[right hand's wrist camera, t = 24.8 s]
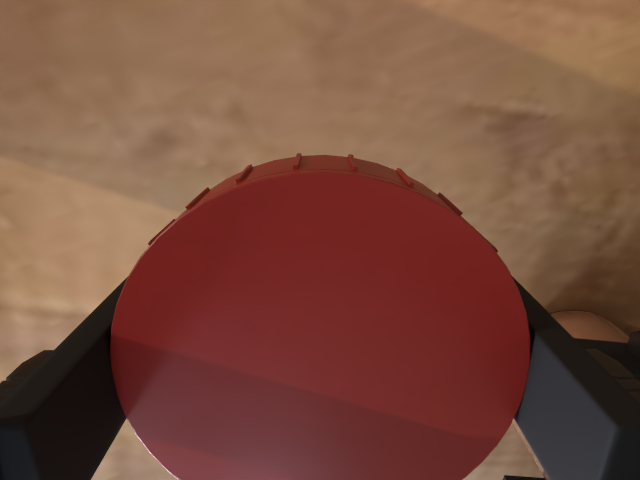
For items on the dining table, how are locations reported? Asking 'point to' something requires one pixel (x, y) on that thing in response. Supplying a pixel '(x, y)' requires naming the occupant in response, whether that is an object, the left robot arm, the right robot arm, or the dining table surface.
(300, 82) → the dining table surface
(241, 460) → the lid
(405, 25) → the dining table surface
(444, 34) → the dining table surface
